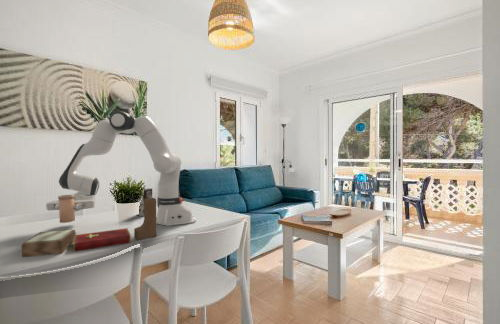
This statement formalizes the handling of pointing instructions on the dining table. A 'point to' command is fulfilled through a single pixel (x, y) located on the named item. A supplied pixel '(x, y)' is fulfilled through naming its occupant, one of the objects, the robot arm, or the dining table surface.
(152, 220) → the wooden block
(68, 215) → the terracotta jar
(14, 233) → the dining table surface
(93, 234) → the hardcover book
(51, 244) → the walnut pedestal
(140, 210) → the coffee box
